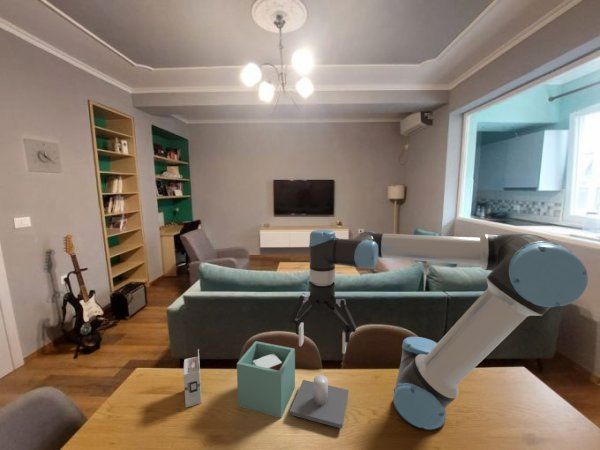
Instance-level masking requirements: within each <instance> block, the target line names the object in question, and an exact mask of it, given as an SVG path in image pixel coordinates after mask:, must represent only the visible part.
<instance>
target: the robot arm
mask: <svg viewBox="0 0 600 450" xmlns="http://www.w3.org/2000/svg"><path fill="white" fill-rule="evenodd" d="M308 248H309V250H308V251H309V295H307V294H305V293H303V292H302V294H301V295H300V296H299V299H298V300H299V301H298V303H297V306H296V308H295V310H294V312H293V314H292V315H291V318H290V319H289V322H290V323H291V324H294V325H295V335H297V336H298V346H299V347H302V346H303V344H304V343H305V342H304V341H305V340H304V337H305V336H304V335H305V333H304V329H305V328H304V322H303V321H304V320H305V319H306V318H307V317H308V316H309V315H310V314H312V313H313V311H316V312H317V313H325V314H327V313H329V315H330V316H332V317H333V319H335V321H336V322H337V324H338V325H339V326H340V327H341V328H342V349H341V350H342V351H341V353H342V354H343V355H345V354H346V350H347V343H348V344H349V343H350V340H351V333H352V332H353V333H355V332H356V330H357V324H356V323H355V321H354V318H353V316H352V313H351V312H350V310H349V308H348V306H347V301H346V298H345V297H342V298H337V297H336V290H335V289H336V284H335V281H336V265H337V266H338V265H339V266H343V267H344V266H347V267H353V268H359V269H373V268H375V267H376V266H377V263H378V261H379V258H382V259H383V258H384V259H396V260H404V261H405V260H408V261H420V262H429V263H440V264H454V265H464V266H465V265H467V266H475V267H477V266H478V267H480V268H481V269H482V270H483V271H491V272H490V273H489V274H488V276H487V277H486V282H487V288H486V289H485V290H484V291H483V292H482V294H481V295H479V297H478V298H477V299H476V300H475V301H474V302H473V304H472V305H471V306H470V307H469V308H468V309H467V310H466V311H465V312H464V313H463V315H462V316H461V317H460V318H459V319H458V320H457V321H456V322H455V324H454V325H453V326H452V327H451V328H450V329H449V330H448V331H447V332H446V334H445V335H444V336H443V337H442V338H441V339H440V340H439V341H438V342H436V341H434V340H432V339H429V338H426V337H421V336H408V337H406V338H404V339H403V341H402V345H401V348H402V349H401V350H402V351H401V360H400V364H399V368H398V374H397V377H396V384H395V386H394V388H393V402H392V403H393V407H394V411H395V413H396V414H397V415H398V416H399V417H400V418H401V420H402V421H404V422H405V423H406V424H408V425H409V426H411V427H413V428H415V429H419V430H422V431H427V432H430V431H431V432H433V431H437V430H439V428H440V429H441V428H442V427H444V425H445V423H446V419H447V418H446V417H447V416H446V415H447V410H446V409H447V407H448V406H449V405H450V404H451V403H452V402H454V400H455V399H456V398H457V397H458V396H459V393H460V391H459V386H458V385H459V384H460V383H461V382H462V381H463V380H464V379H465V378H466V377H467V376H468V375H469V374H470V373H471V372H472V371H473V370H474V369H475V368H476V367H477V366H478V365H479V364H480V363H482V361H483V360H485V358H486V357H487V356H489V355H490V353H492V352H493V351H494V350H495V349H496V347H498V346H499V345H500V344H501V343H502V342H503V341H504V340H505V339H506V338H507V337H508V336H509V335H510V334H511V333H512V332H513V331H514V330H515V329H516V328H517V327H519V325H520V324H521V323H523V322H524V321H525V319H527V317H530V316H531V317H532V316H533V317H534V316H536V317H537V316H539V317H542V316H544V314H546V313H547V312H548V310H550V309H551V308H555V307H564V306H568V305H570V304H572V303H573V302H575V301H577V300H578V299H580V298H581V297H582V295H583V294H584V292H585V290H587V287H588V283H589V281H588V280H589V275H588V272H587V268H586V266H585V265H584V263H583V261H582V260H581V259H580V258H579V256H577V255H576V254H574V253H573V251H571V250H570V249H568V248H566V247H565V246H563V245H560V244H558V243H556V242H553V241H550V240H548V239H547V238H545V237H542V236H540V235H536V234H532V233H531V234H530V233H502V234H501V233H500V234H499V233H495V234H494V233H483V234H482V235H481V236H478V237H475V236H453V235H452V236H448V235H429V234H427V235H425V234H424V235H423V234H404V233H403V234H402V233H379V232H378V233H377V232H374V231H372V230H370V231H368V230H367V231H364V232H360V234H359V235H357V236H355V237H353V238H352V239H351V238H338V237H337V236H336V232H335V231H334V230H332V229H331V230H330V229H315V230H312V231H311V232H310V233H309V245H308ZM307 301H308V302H309V304H310V305H309V307H308V308H307V309H306V310H305V311H304V312H303V314H301V316H299V318H297V317H298V315H299V313H300V312H301V309H302V308H303V306H304V304H305V303H307ZM336 304H337V305H338V307H339V308H340V310H341V312H342V314H343V316H344V317H343V316H342V315H341V313H340V312H339V311H338V309H337V307H336V306H335V305H336Z"/></svg>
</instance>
